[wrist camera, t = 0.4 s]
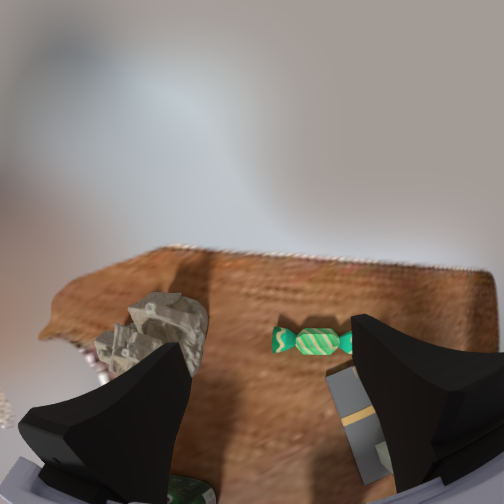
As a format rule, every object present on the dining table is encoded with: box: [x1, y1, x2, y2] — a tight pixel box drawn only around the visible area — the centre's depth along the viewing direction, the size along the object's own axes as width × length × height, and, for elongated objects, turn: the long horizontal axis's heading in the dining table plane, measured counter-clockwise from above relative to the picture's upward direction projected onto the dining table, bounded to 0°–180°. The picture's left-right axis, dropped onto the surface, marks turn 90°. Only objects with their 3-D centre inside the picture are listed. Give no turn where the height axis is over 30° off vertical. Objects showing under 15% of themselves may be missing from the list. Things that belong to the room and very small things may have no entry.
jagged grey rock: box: [94, 292, 208, 377], centre depth 36 cm, size 16×16×15 cm
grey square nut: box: [375, 441, 394, 475], centre depth 23 cm, size 3×6×7 cm, turn 108°
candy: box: [272, 327, 352, 355], centre depth 36 cm, size 12×3×4 cm
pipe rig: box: [325, 365, 394, 485], centre depth 28 cm, size 18×12×6 cm, turn 18°
